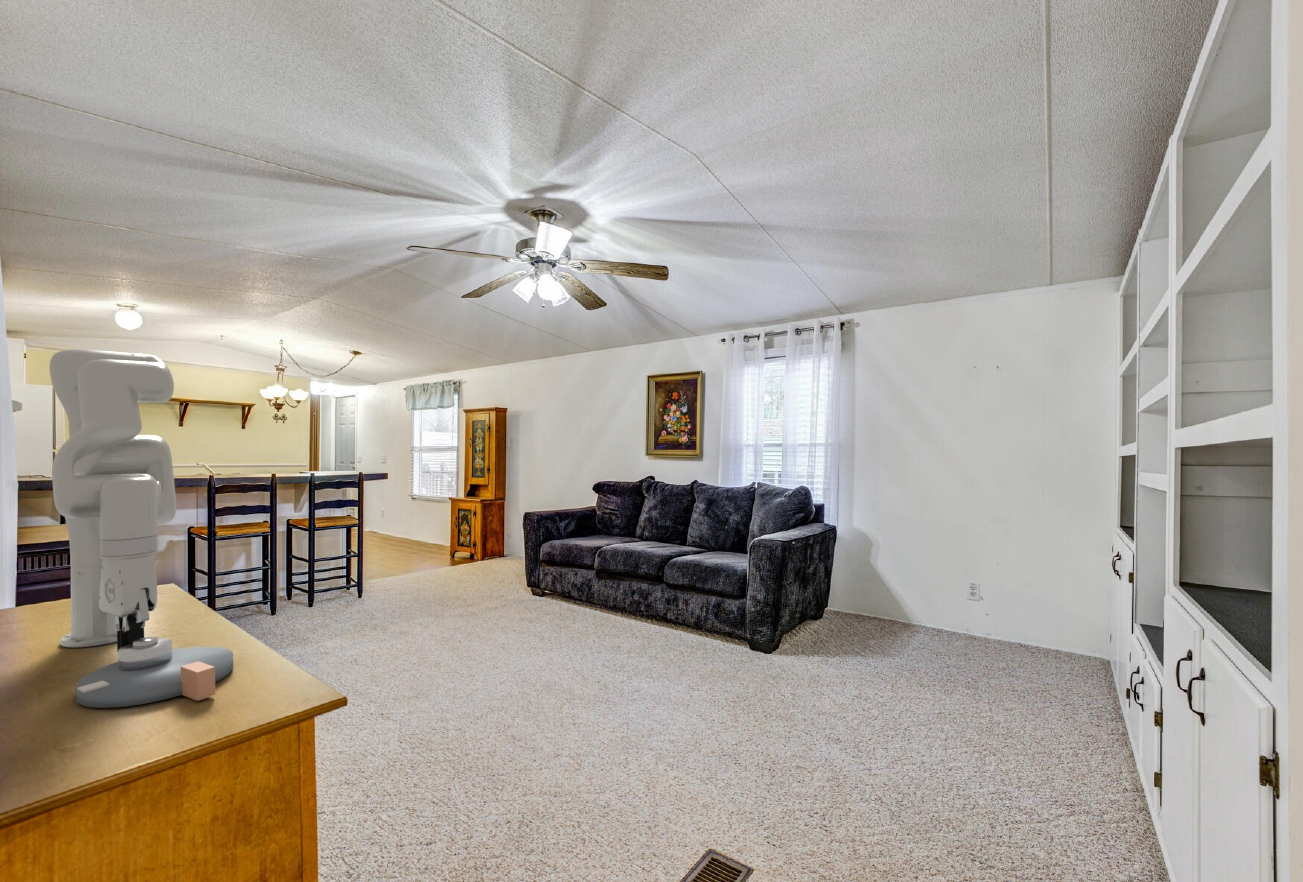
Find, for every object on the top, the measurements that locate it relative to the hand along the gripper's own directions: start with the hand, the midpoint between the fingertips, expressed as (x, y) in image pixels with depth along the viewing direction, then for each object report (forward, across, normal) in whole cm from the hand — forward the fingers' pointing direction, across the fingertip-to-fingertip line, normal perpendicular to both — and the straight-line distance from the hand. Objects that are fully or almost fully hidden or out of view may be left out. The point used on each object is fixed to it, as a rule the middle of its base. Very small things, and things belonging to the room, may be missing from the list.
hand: (130, 651), depth 102 cm
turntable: (+3, +12, 0) cm, 13 cm away
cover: (+1, +5, 0) cm, 5 cm away
